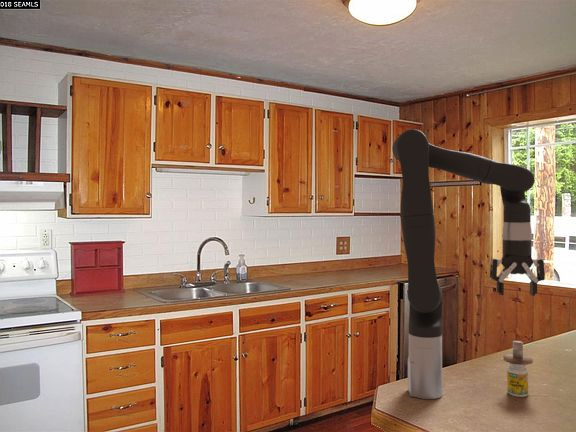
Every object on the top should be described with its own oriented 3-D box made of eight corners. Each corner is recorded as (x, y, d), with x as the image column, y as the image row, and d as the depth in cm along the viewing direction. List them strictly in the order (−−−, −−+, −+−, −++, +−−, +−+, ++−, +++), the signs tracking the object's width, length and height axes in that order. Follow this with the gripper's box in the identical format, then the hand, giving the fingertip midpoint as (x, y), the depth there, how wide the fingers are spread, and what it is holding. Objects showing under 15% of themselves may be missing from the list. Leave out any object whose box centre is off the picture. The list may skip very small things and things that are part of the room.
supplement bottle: (528, 392, 146) (528, 359, 145) (527, 398, 141) (527, 364, 141) (508, 389, 148) (508, 356, 148) (506, 395, 143) (506, 361, 143)
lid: (508, 364, 141) (508, 345, 141) (499, 356, 148) (499, 338, 148) (537, 365, 140) (536, 345, 140) (526, 356, 148) (526, 338, 148)
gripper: (494, 239, 141) (494, 297, 141) (548, 239, 140) (548, 297, 140) (487, 237, 149) (487, 292, 149) (538, 237, 147) (538, 293, 147)
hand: (516, 295), depth 144 cm, fingers open, 8 cm apart
